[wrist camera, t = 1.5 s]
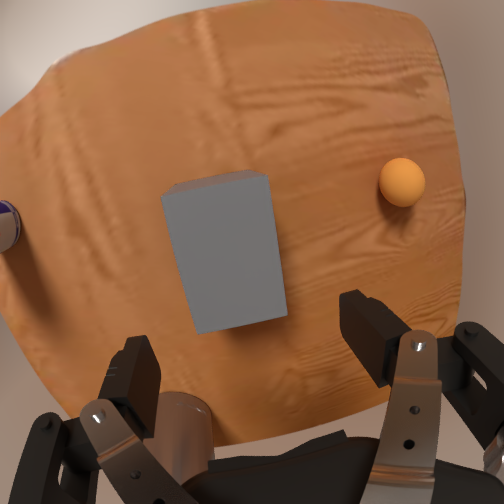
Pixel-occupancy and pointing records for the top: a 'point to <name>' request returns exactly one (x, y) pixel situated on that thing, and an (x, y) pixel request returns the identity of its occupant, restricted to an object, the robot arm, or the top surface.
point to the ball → (402, 182)
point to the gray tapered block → (226, 249)
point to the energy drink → (8, 225)
